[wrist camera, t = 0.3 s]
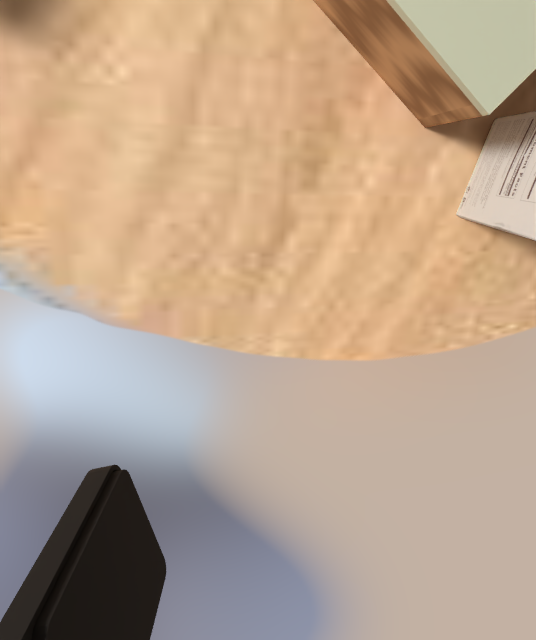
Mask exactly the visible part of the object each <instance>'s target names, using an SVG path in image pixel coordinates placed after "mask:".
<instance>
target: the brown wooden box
mask: <svg viewBox="0 0 536 640" xmlns="http://www.w3.org/2000/svg"><path fill="white" fill-rule="evenodd" d="M314 2H315V3H316V4H317V5H318V6H319V7H320V8H321V10H322V11H323V12H324V13H325V14H326V15H327V16H328V18H329V19H330V20H331V21H332V22H333V23H334V24H335V26H336V27H337V28H338V29H339V30H340V31H341V32H342V34H343V35H344V36H345V37H346V38H347V39H348V40H349V42H350V43H351V44H352V45H353V46H354V47H355V48H356V50H357V51H358V52H359V53H360V54H361V55H362V56H363V57H364V59H365V60H366V61H367V62H368V63H369V64H370V65H371V67H372V68H373V69H374V70H375V71H376V72H377V73H378V75H379V76H380V77H381V78H382V79H383V80H384V81H385V83H386V84H387V85H388V86H389V87H390V88H391V89H392V91H393V92H394V93H395V94H396V95H397V96H398V97H399V99H400V100H401V101H402V102H403V103H404V104H405V105H406V107H407V108H408V109H409V110H410V111H411V112H412V113H413V115H414V116H415V117H416V118H417V119H418V120H419V121H420V123H421V124H422V125H423V126H424V127H425V128H426V127H431V126H436V125H441V124H446V123H451V122H456V121H461V120H466V119H471V118H476V117H481V116H482V115H481V114H480V112H479V111H478V110H477V109H476V108H475V106H474V105H473V104H472V103H471V102H470V100H469V99H468V98H467V97H466V96H465V94H464V93H463V92H462V91H461V90H460V88H459V87H458V86H457V85H456V84H455V82H454V81H453V80H452V79H451V78H450V76H449V75H448V74H447V73H446V72H445V70H444V69H443V68H442V67H441V66H440V64H439V63H438V62H437V61H436V60H435V58H434V57H433V56H432V55H431V54H430V52H429V51H428V50H427V49H426V48H425V46H424V45H423V44H422V43H421V42H420V40H419V39H418V38H417V37H416V35H415V34H414V33H413V32H412V31H411V29H410V28H409V27H408V26H407V25H406V23H405V22H404V21H403V20H402V19H401V17H400V16H399V15H398V14H397V13H396V11H395V10H394V9H393V8H392V7H391V5H390V4H389V3H388V2H387V1H386V0H314Z"/></svg>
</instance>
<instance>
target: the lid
mask: <svg viewBox="0 0 536 640" xmlns="http://www.w3.org/2000/svg"><path fill="white" fill-rule="evenodd" d="M386 1H387V2H388V3H389V4H390V5H391V7H392V8H393V9H394V10H395V11H396V13H397V14H398V15H399V16H400V17H401V19H402V20H403V21H404V22H405V23H406V25H407V26H408V27H409V28H410V29H411V31H412V32H413V33H414V34H415V35H416V37H417V38H418V39H419V40H420V42H421V43H422V44H423V45H424V46H425V48H426V49H427V50H428V51H429V52H430V54H431V55H432V56H433V57H434V58H435V60H436V61H437V62H438V63H439V64H440V66H441V67H442V68H443V69H444V70H445V72H446V73H447V74H448V75H449V76H450V78H451V79H452V80H453V81H454V82H455V84H456V85H457V86H458V87H459V88H460V90H461V91H462V92H463V93H464V94H465V96H466V97H467V98H468V99H469V100H470V102H471V103H472V104H473V105H474V106H475V108H476V109H477V110H478V111H479V112H480V114H481V115H482V116H486V115H490V114H491V113H492V112H493V111H494V110H495V109H496V108H497V107H498V106H499V105H500V104H501V103H502V102H503V101H504V100H505V99H506V98H507V97H508V96H509V95H510V94H511V93H512V92H513V91H514V90H515V89H516V88H517V87H518V86H519V85H520V84H521V83H522V82H523V81H524V80H525V79H526V78H527V77H528V76H529V75H530V74H531V73H532V72H533V71H534V70H535V69H536V0H386Z"/></svg>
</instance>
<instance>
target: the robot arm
mask: <svg viewBox="0 0 536 640" xmlns="http://www.w3.org/2000/svg"><path fill="white" fill-rule="evenodd" d="M165 576H166V563H165V559H164V556H163V554H162V551H161V549H160V547H159V544H158V542H157V540H156V537H155V534H154V532H153V530H152V527H151V525H150V522H149V520H148V518H147V515H146V513H145V510H144V508H143V506H142V503H141V501H140V498H139V496H138V494H137V491H136V489H135V487H134V484H133V481H132V479H131V477H130V474H129V473H128V471H127V470H121V469H120V467H119V466H117V465H112V466H107V467H101V468H97V469H92V470H90V471H89V472H88V473H87V475H86V476H85V478H84V480H83V481H82V483H81V485H80V487H79V488H78V490H77V492H76V493H75V495H74V497H73V499H72V500H71V502H70V504H69V505H68V507H67V509H66V511H65V512H64V514H63V516H62V517H61V519H60V521H59V523H58V524H57V526H56V528H55V530H54V531H53V533H52V535H51V536H50V538H49V540H48V541H47V543H46V545H45V547H44V548H43V550H42V552H41V553H40V555H39V557H38V559H37V560H36V562H35V564H34V565H33V567H32V569H31V570H30V572H29V574H28V576H27V577H26V579H25V581H24V582H23V584H22V586H21V588H20V589H19V591H18V593H17V594H16V596H15V598H14V600H13V601H12V603H11V605H10V606H9V608H8V610H7V612H6V613H5V615H4V617H3V618H2V621H1V622H0V640H150V636H151V633H152V629H153V625H154V621H155V616H156V613H157V609H158V605H159V601H160V597H161V593H162V589H163V585H164V581H165Z"/></svg>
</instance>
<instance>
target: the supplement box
mask: <svg viewBox="0 0 536 640" xmlns="http://www.w3.org/2000/svg"><path fill="white" fill-rule="evenodd" d="M456 215H457V216H458V217H460V218H463V219H466V220H469V221H472V222H476V223H479V224H482V225H486V226H489V227H492V228H495V229H498V230H502V231H505V232H508V233H511V234H515V235H518V236H522V237H525V238H528V239H532V240H535V241H536V111H532V112H527V113H521V114H516V115H511V116H506V117H501V118H496V119H495V120H494V122H493V124H492V127H491V129H490V131H489V134H488V136H487V139H486V141H485V144H484V146H483V149H482V151H481V153H480V156H479V158H478V161H477V163H476V166H475V168H474V171H473V173H472V176H471V178H470V181H469V183H468V186H467V188H466V190H465V193H464V195H463V198H462V201H461V203H460V205H459V208H458V210H457V213H456Z"/></svg>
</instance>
